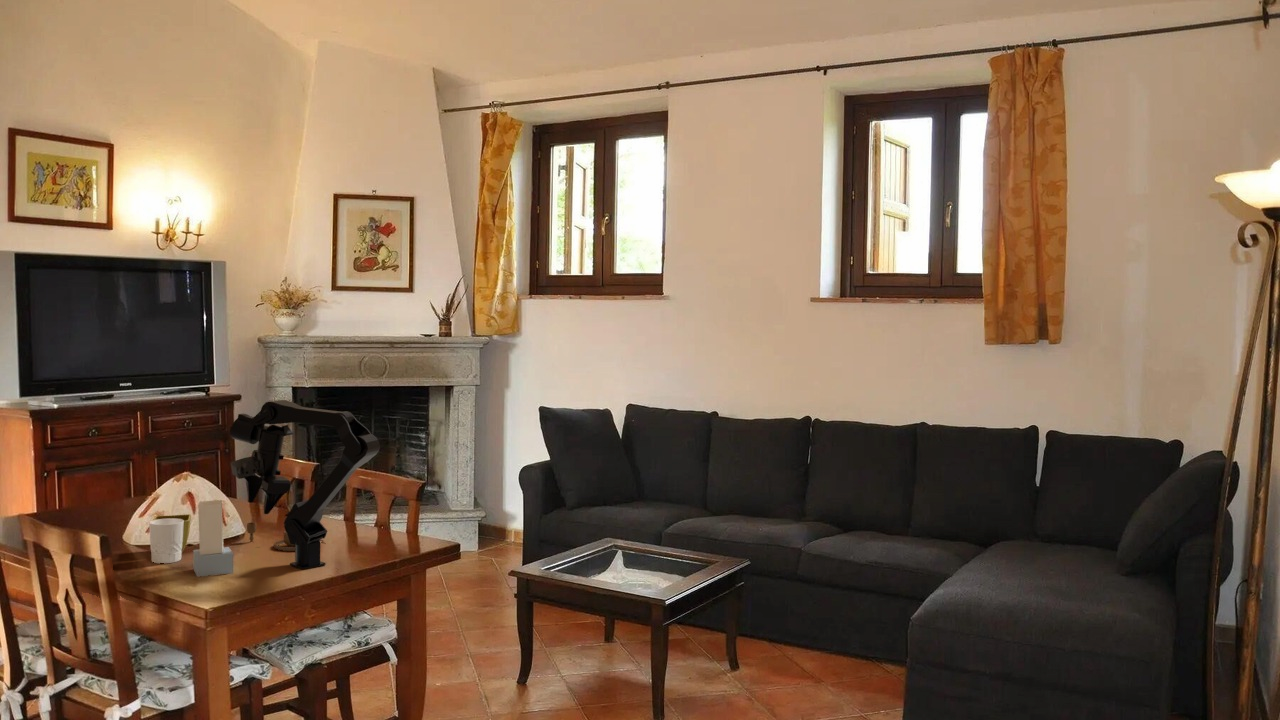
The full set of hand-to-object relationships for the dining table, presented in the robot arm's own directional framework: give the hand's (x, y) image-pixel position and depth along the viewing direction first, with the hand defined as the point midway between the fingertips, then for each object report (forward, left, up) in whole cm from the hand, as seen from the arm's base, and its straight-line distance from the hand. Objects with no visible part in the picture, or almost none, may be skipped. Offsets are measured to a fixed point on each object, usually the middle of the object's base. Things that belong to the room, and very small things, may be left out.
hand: (258, 508), depth 251 cm
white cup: (+16, +16, -14) cm, 26 cm away
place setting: (+11, -16, -14) cm, 24 cm away
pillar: (-1, +13, -9) cm, 15 cm away
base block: (-2, +12, -14) cm, 19 cm away
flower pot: (+24, +11, -14) cm, 30 cm away
